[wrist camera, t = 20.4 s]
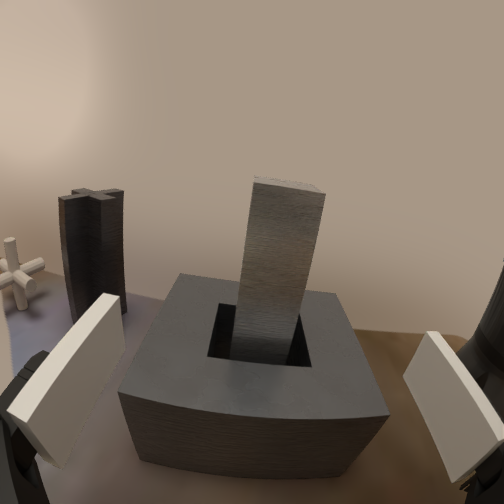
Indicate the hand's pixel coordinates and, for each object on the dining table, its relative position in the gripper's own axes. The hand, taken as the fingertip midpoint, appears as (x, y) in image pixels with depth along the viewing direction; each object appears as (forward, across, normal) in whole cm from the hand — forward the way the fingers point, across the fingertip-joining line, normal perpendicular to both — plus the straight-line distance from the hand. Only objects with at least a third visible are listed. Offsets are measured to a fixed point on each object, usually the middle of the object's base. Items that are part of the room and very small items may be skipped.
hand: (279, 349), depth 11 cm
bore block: (+9, 0, -15) cm, 17 cm away
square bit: (+9, 0, -15) cm, 17 cm away
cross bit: (+18, -19, -15) cm, 30 cm away
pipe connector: (+15, -32, -15) cm, 38 cm away
